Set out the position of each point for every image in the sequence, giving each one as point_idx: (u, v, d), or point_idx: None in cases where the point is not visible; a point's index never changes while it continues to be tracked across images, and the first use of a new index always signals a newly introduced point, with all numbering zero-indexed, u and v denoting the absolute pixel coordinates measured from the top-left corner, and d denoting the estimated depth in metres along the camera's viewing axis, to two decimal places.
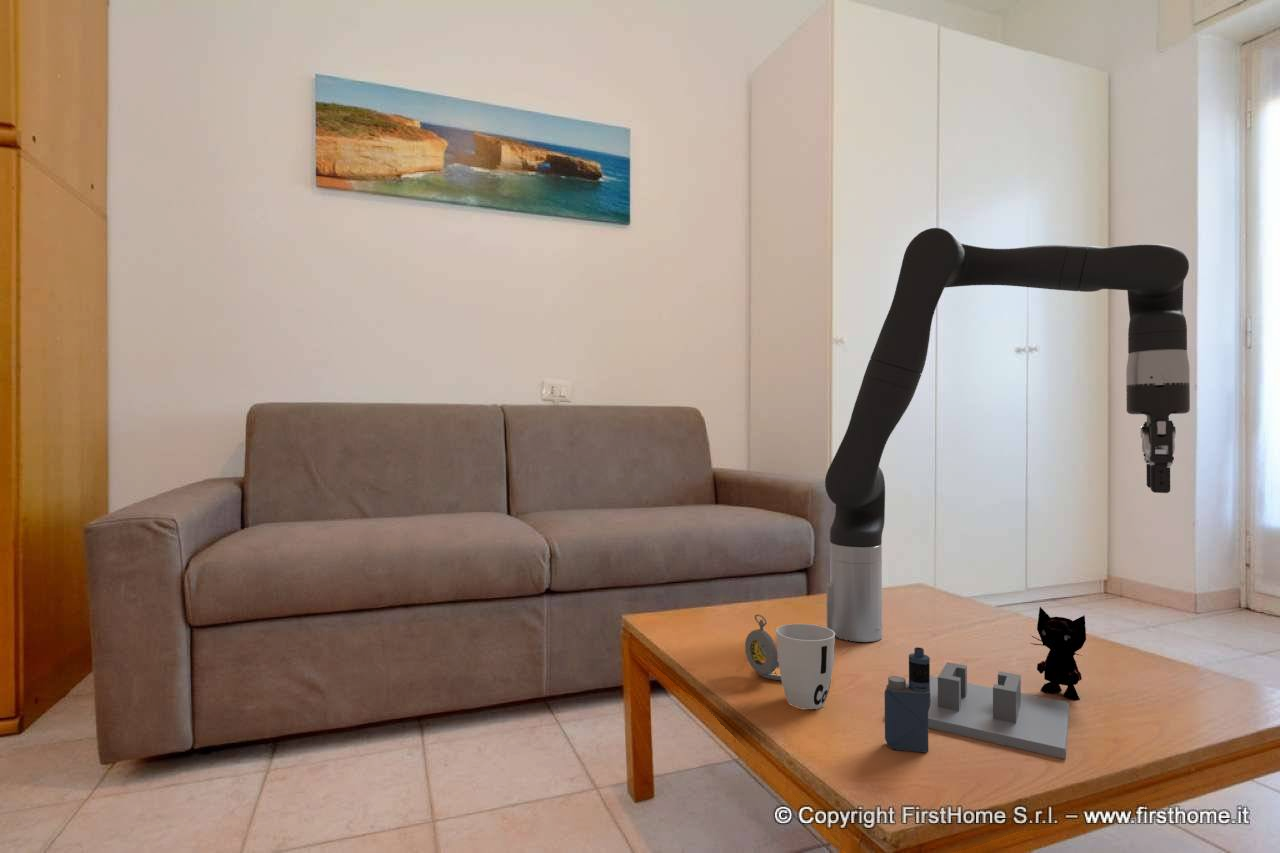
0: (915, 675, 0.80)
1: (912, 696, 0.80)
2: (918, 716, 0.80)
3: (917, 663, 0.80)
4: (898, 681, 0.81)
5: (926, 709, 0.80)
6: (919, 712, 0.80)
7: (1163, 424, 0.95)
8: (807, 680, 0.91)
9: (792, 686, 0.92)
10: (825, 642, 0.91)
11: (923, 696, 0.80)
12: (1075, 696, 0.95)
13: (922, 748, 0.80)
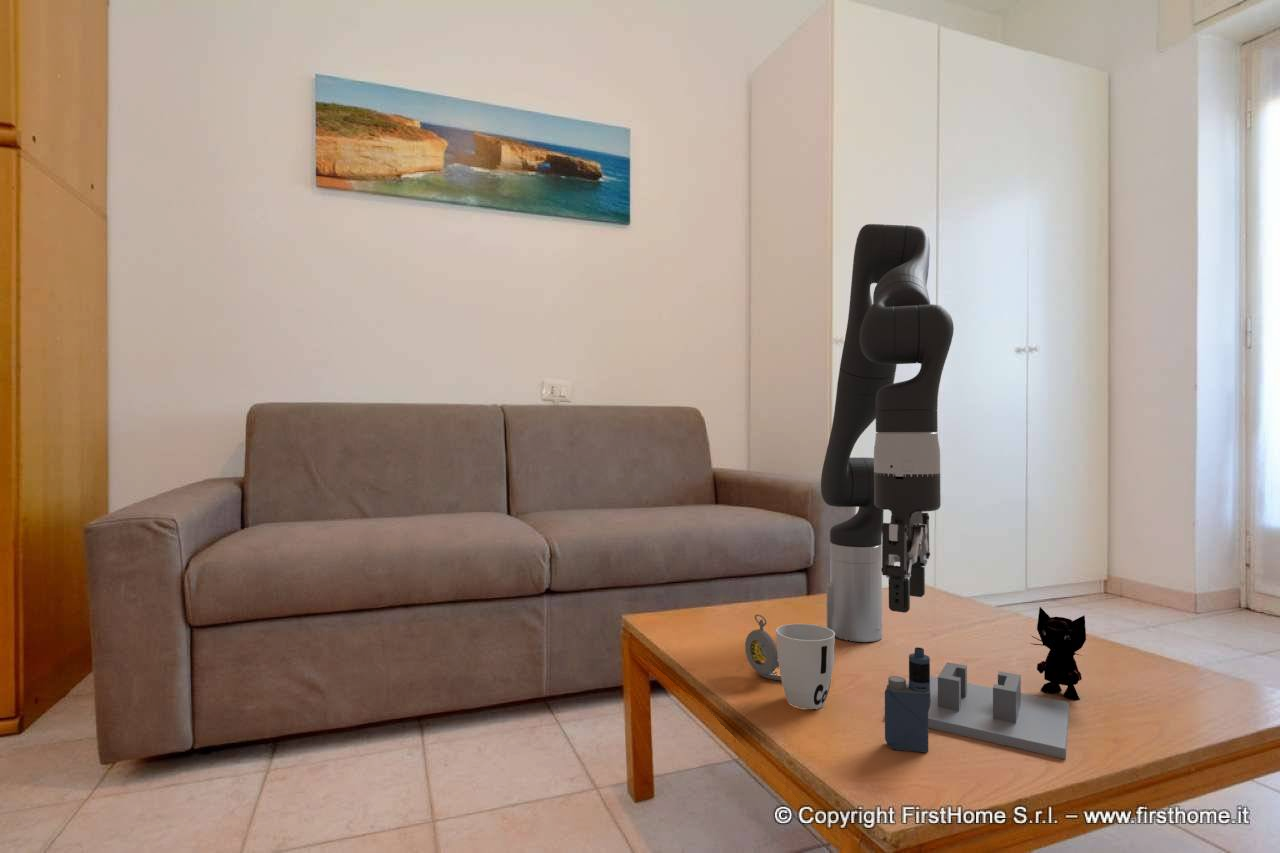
0: (915, 675, 0.80)
1: (912, 696, 0.80)
2: (918, 716, 0.80)
3: (917, 663, 0.80)
4: (898, 681, 0.81)
5: (926, 709, 0.80)
6: (919, 712, 0.80)
7: (895, 529, 0.76)
8: (807, 680, 0.91)
9: (792, 686, 0.92)
10: (825, 642, 0.91)
11: (923, 696, 0.80)
12: (1075, 696, 0.95)
13: (922, 748, 0.80)
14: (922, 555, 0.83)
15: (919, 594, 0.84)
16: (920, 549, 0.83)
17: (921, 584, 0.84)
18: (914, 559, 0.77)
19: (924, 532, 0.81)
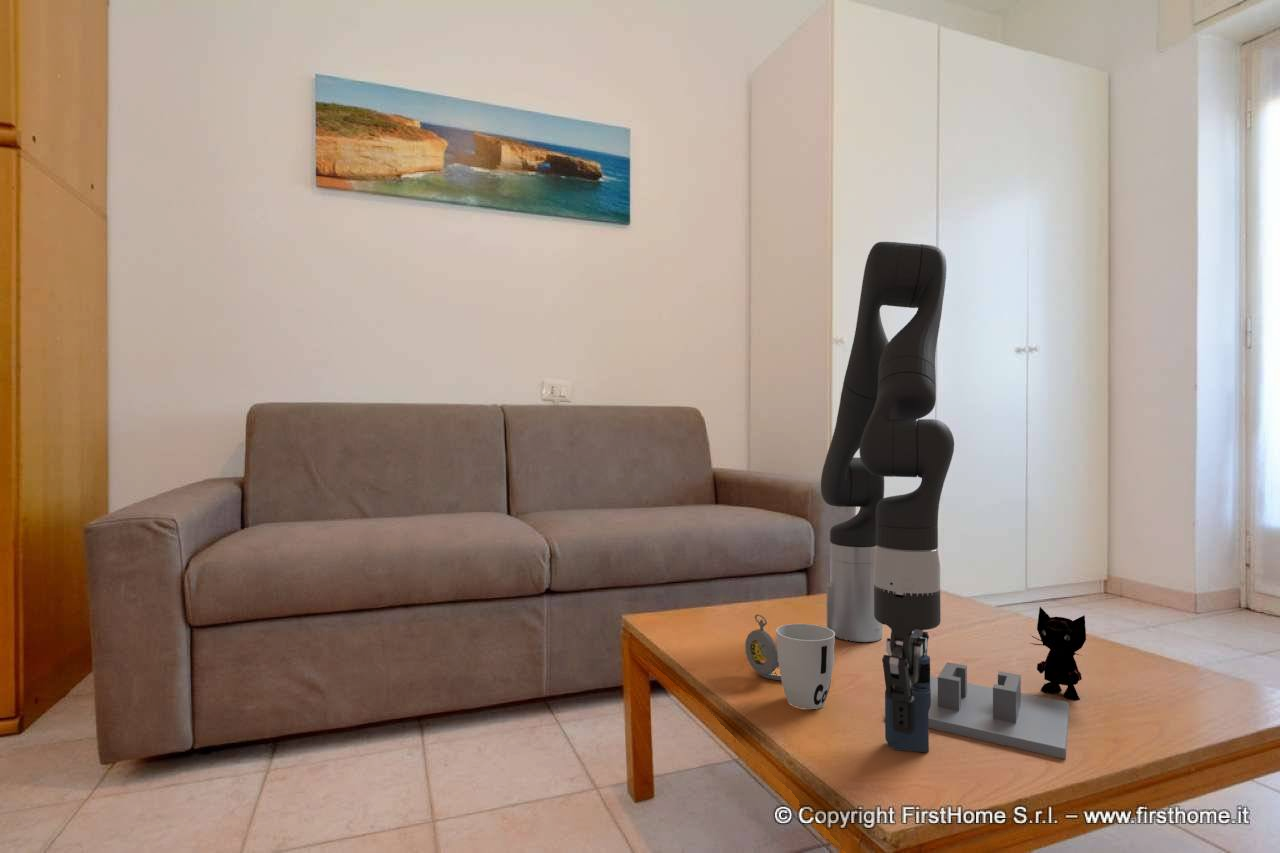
0: None
1: None
2: (918, 716, 0.80)
3: None
4: None
5: (926, 709, 0.80)
6: (919, 712, 0.80)
7: (895, 665, 0.76)
8: (807, 680, 0.91)
9: (792, 686, 0.92)
10: (825, 642, 0.91)
11: (923, 696, 0.80)
12: (1075, 696, 0.95)
13: (922, 748, 0.80)
14: None
15: None
16: None
17: None
18: (917, 681, 0.79)
19: (924, 645, 0.81)
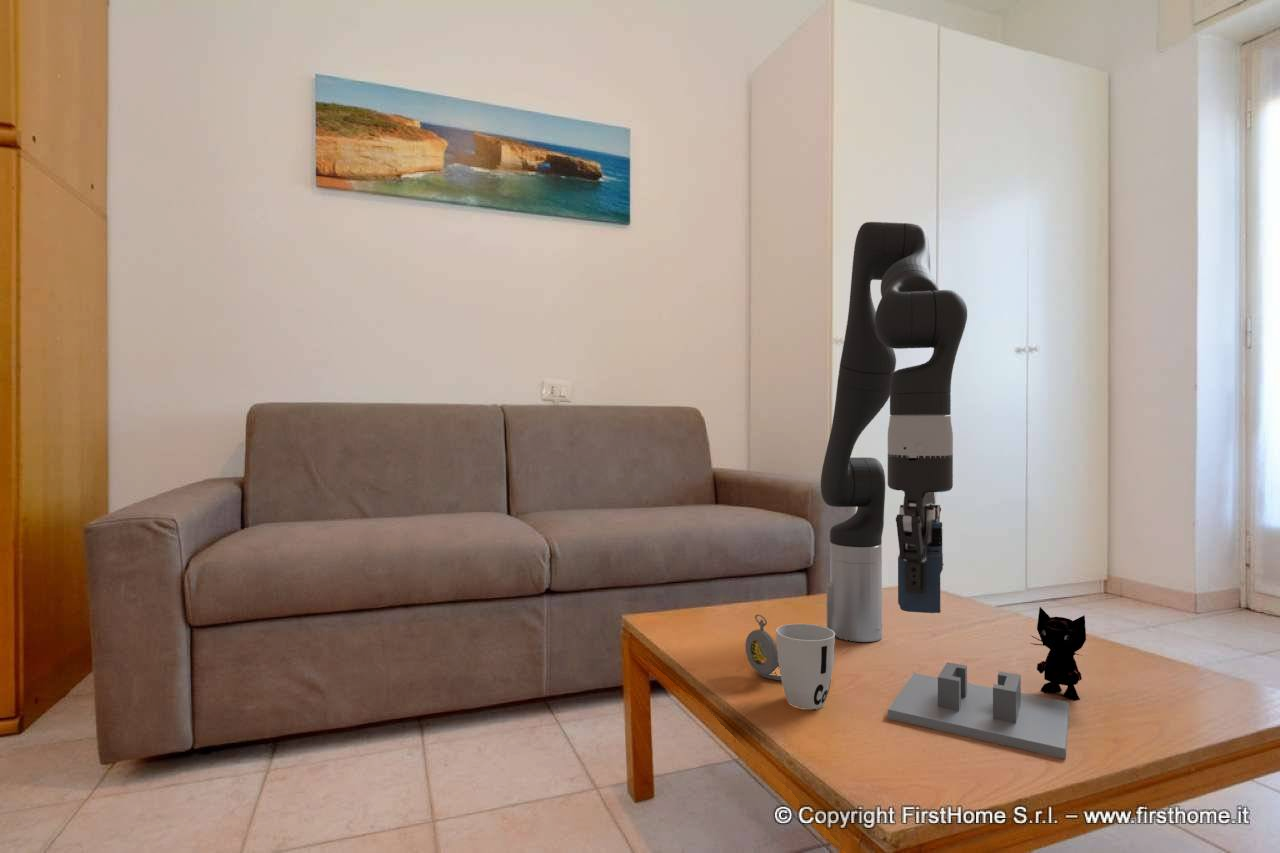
0: None
1: None
2: (930, 578, 0.82)
3: None
4: (911, 546, 0.83)
5: (938, 571, 0.82)
6: (931, 574, 0.82)
7: (909, 522, 0.78)
8: (807, 680, 0.91)
9: (792, 686, 0.92)
10: (825, 642, 0.91)
11: (935, 559, 0.82)
12: (1075, 696, 0.95)
13: (934, 609, 0.82)
14: None
15: None
16: None
17: None
18: (929, 542, 0.81)
19: (936, 510, 0.83)
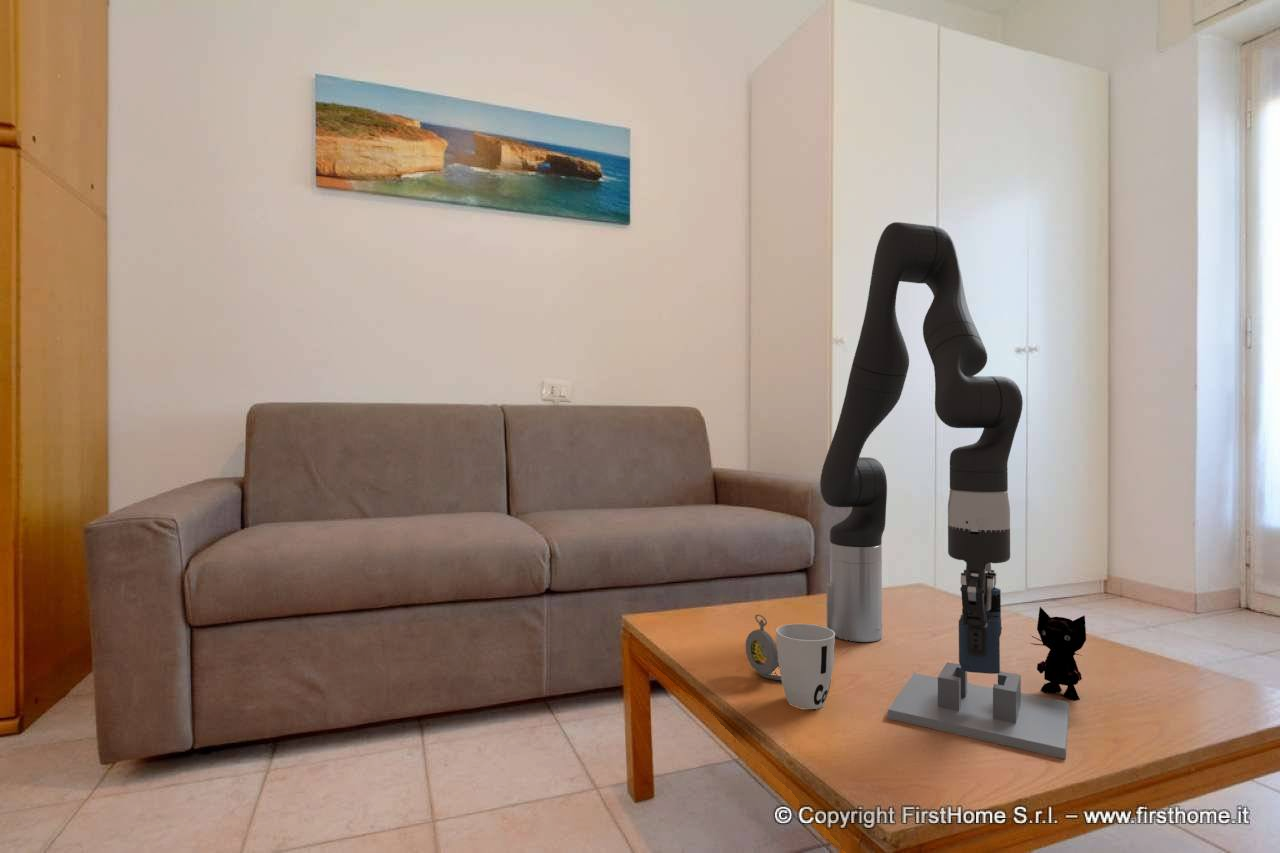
0: None
1: None
2: (990, 641, 0.89)
3: None
4: None
5: (998, 635, 0.89)
6: (991, 638, 0.89)
7: (973, 593, 0.85)
8: (807, 680, 0.91)
9: (792, 686, 0.92)
10: (825, 642, 0.91)
11: (995, 624, 0.89)
12: (1075, 696, 0.95)
13: (994, 670, 0.89)
14: None
15: None
16: None
17: None
18: (990, 609, 0.88)
19: (994, 578, 0.90)
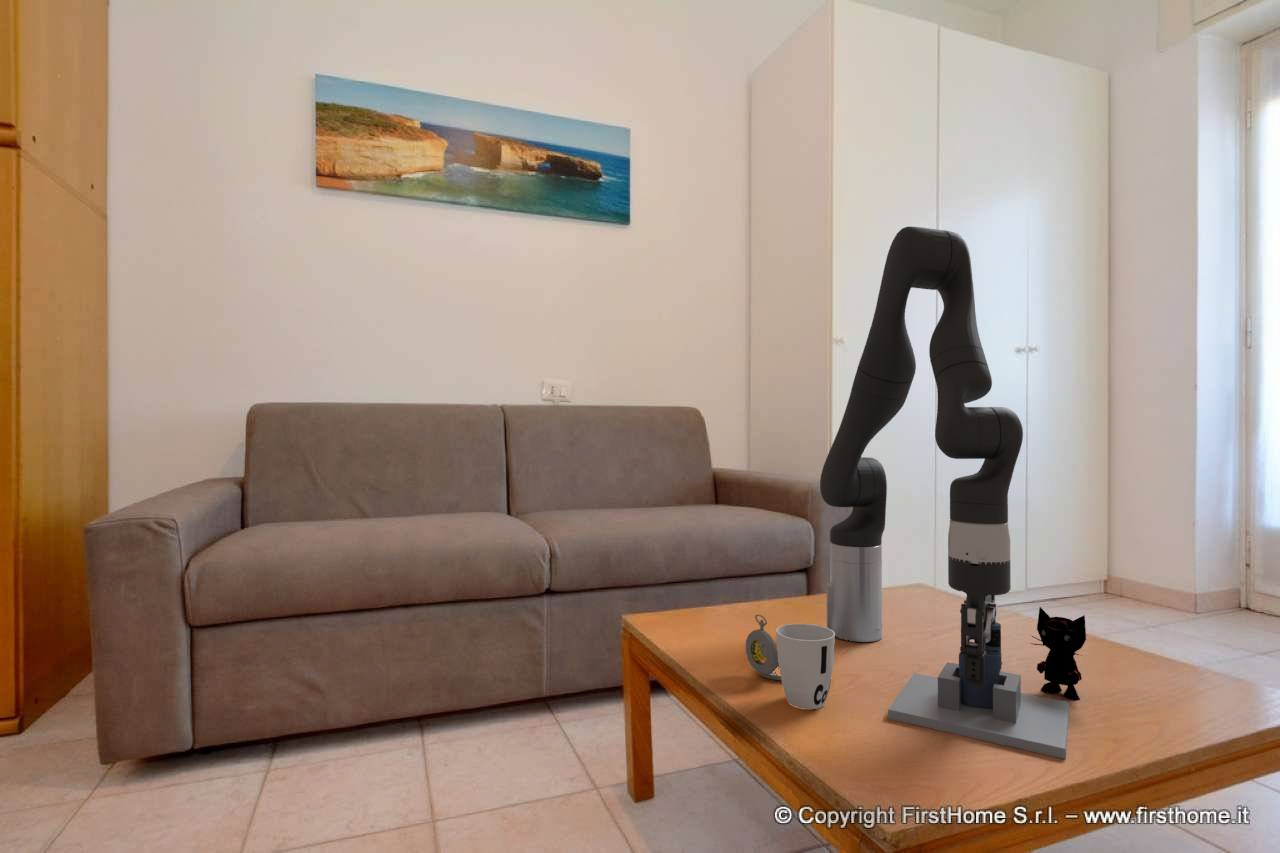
0: None
1: None
2: (990, 676, 0.89)
3: None
4: None
5: (997, 670, 0.89)
6: (991, 673, 0.89)
7: (973, 613, 0.85)
8: (807, 680, 0.91)
9: (792, 686, 0.92)
10: (825, 642, 0.91)
11: (995, 659, 0.89)
12: (1075, 696, 0.95)
13: None
14: None
15: None
16: None
17: None
18: (988, 638, 0.86)
19: (995, 611, 0.90)
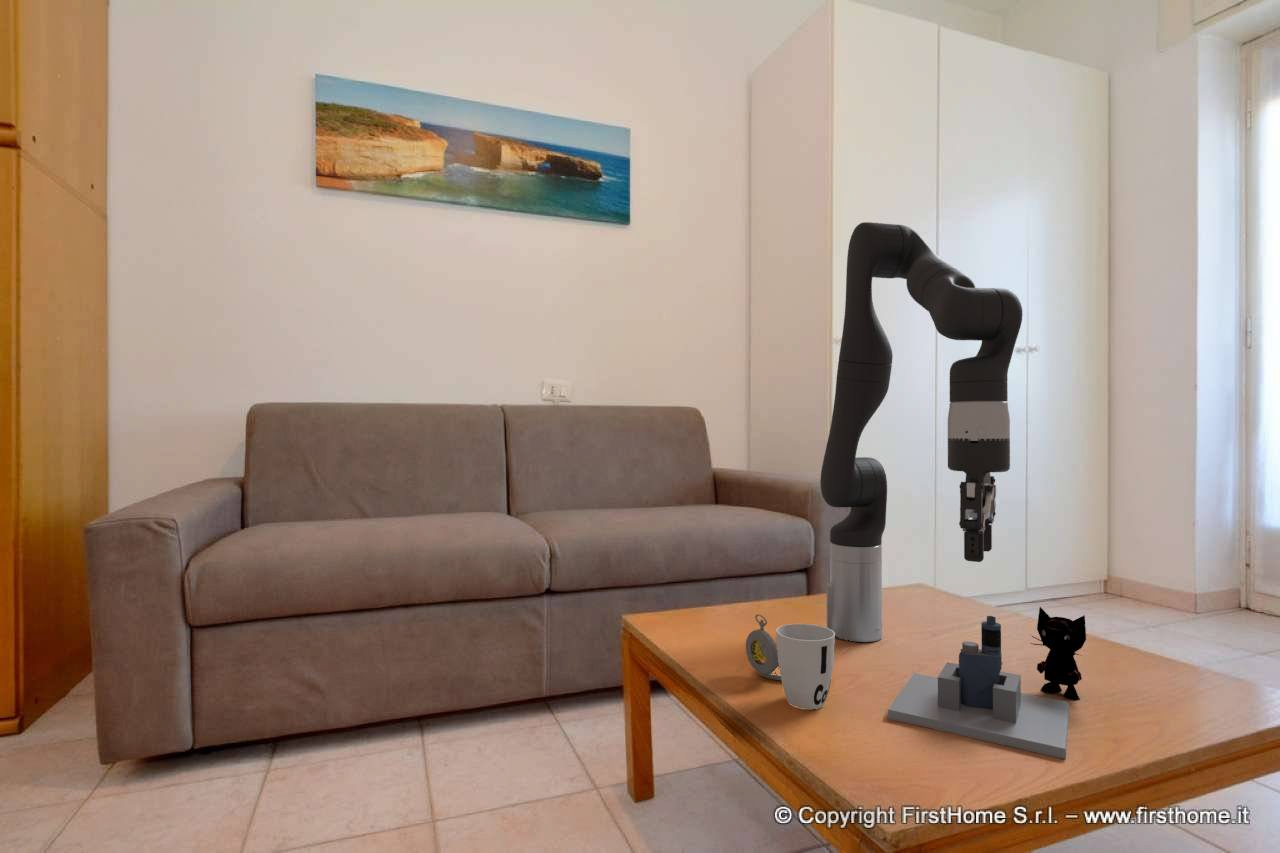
0: (987, 640, 0.90)
1: (984, 659, 0.89)
2: (990, 677, 0.89)
3: (989, 629, 0.89)
4: (971, 645, 0.90)
5: (997, 671, 0.89)
6: (991, 673, 0.89)
7: (972, 486, 0.85)
8: (807, 680, 0.91)
9: (792, 686, 0.92)
10: (825, 642, 0.91)
11: (995, 659, 0.89)
12: (1075, 696, 0.95)
13: None
14: (990, 513, 0.92)
15: (986, 549, 0.93)
16: None
17: (989, 540, 0.93)
18: (988, 514, 0.87)
19: (994, 492, 0.90)
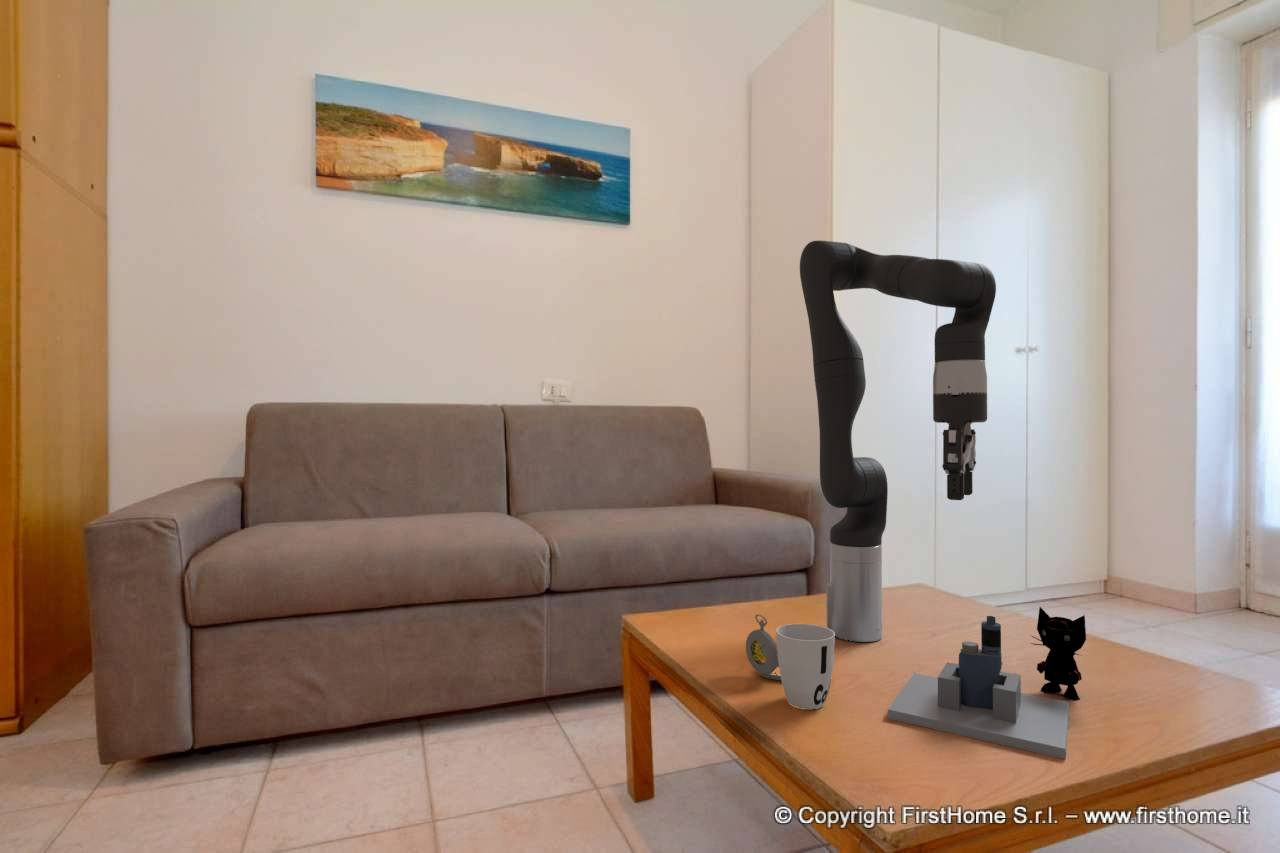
0: (987, 640, 0.90)
1: (984, 659, 0.89)
2: (990, 677, 0.89)
3: (989, 629, 0.89)
4: (971, 645, 0.90)
5: (997, 671, 0.89)
6: (991, 673, 0.89)
7: (953, 433, 0.97)
8: (807, 680, 0.91)
9: (792, 686, 0.92)
10: (825, 642, 0.91)
11: (995, 659, 0.89)
12: (1075, 696, 0.95)
13: None
14: (971, 461, 1.05)
15: (967, 493, 1.06)
16: (969, 456, 1.04)
17: (970, 485, 1.05)
18: (967, 458, 0.99)
19: (973, 441, 1.02)
